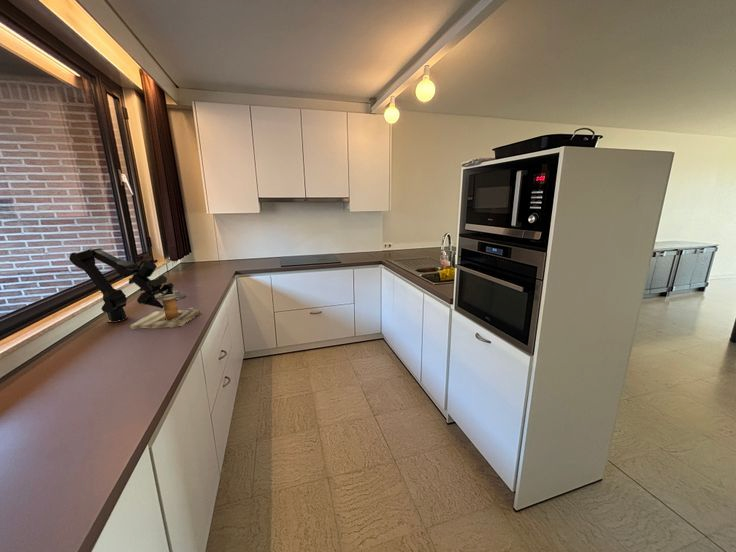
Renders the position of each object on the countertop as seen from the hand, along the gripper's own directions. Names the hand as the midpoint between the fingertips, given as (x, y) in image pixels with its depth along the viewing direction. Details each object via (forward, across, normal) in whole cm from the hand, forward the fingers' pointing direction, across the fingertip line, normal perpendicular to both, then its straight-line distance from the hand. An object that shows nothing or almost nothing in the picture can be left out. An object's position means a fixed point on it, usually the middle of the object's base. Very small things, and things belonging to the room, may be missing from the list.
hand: (169, 304), depth 152 cm
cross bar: (+9, +1, +1) cm, 9 cm away
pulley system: (-12, +32, +26) cm, 43 cm away
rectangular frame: (+4, 0, +8) cm, 9 cm away
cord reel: (+6, 0, +6) cm, 9 cm away
